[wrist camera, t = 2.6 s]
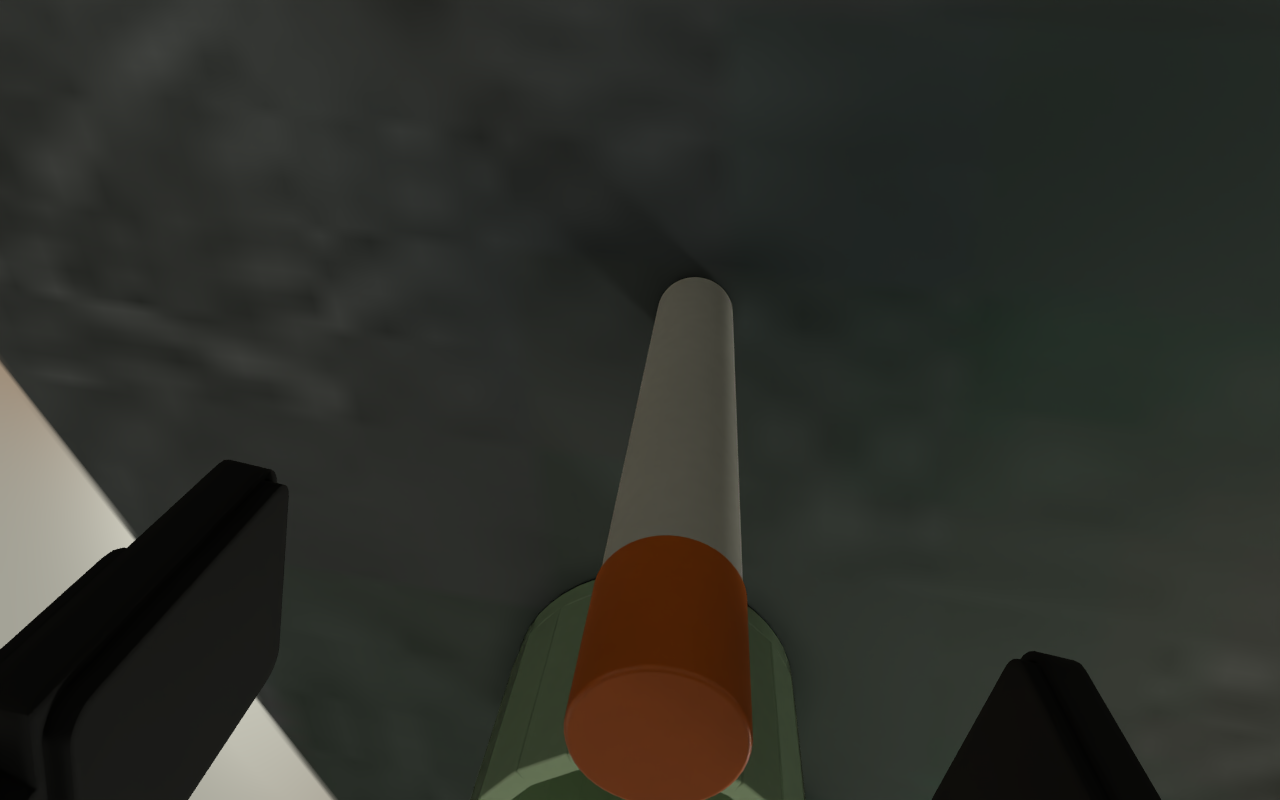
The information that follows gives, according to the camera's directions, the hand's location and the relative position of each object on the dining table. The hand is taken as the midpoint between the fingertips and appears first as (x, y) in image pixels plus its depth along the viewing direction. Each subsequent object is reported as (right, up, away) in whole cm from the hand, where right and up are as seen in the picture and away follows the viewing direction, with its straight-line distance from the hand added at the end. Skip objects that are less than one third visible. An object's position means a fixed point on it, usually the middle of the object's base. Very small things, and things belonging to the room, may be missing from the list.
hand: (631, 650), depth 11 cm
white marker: (+2, +5, +12) cm, 13 cm away
